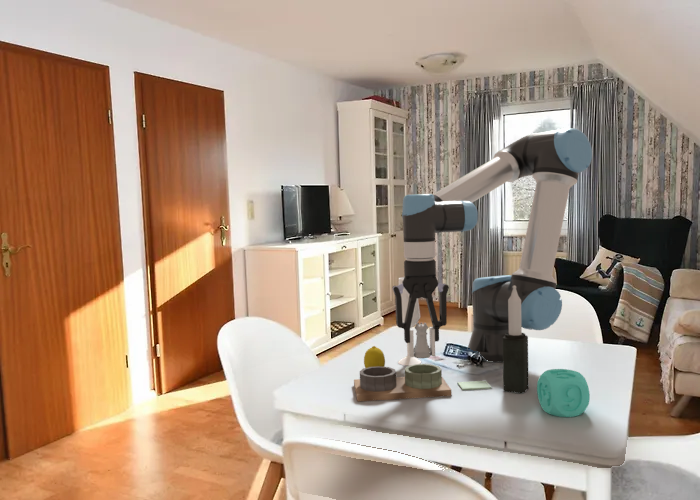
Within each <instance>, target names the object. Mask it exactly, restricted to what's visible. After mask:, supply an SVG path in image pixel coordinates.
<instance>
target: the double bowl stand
mask: <svg viewBox="0 0 700 500" xmlns="http://www.w3.org/2000/svg"><path fill="white" fill-rule="evenodd" d="M442 370H443V369H442V368H441V367H440V365H439V366H438V365H435V364H429V363H421V364H415V365H411V366H408V365H407V366H406V367H405V368H404V376H397V370H396V369H395V368H394V367H393V368H392V367H390V366H384V367H382V366H378V367H368V368H365V367H364V368H363V369H361V370H359V378H358V379H357V378H356V379H353V387H354V391H355V396H356V400H357V401H356V402H371V401H372V402H373V401H390V400H405V399H406V400H407V399H424V398H440V397H452V392H453V391H452V389H451V387H450V386H449V385H448V383H447V382H446V380H445V379H444V377H443V376H442V375H443V374H442Z"/></svg>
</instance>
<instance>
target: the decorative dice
mask: <svg viewBox="0 0 700 500" xmlns="http://www.w3.org/2000/svg"><path fill="white" fill-rule="evenodd" d="M536 393H537V394H536V395H537V399H538V402H539V405H540V406H541V409H542V410H543V411H544V412H546V413H547V415H551V416H554V417H560V418H574V417H579V416H581V415H582V414H583V413H584V412H585V411H586V410H587V408H588V407H589V404H590V389H589V385H588V382H587V380H586V378H585V377H584V375H583V374H582V373H580V372H579V371H577V370H573V369H566V368H552V369H547V370H545V371H544V372H542V373H541V374H540V376H539V377H538V380H537V384H536Z"/></svg>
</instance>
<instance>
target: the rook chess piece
mask: <svg viewBox="0 0 700 500" xmlns="http://www.w3.org/2000/svg"><path fill="white" fill-rule="evenodd" d="M414 329H415V331H416V333H415V336H416V339H415V340H416V341H415V345H414V357H415V358H417V359H428V358H430V357H432V355H431V353H430V352H431V349H430V345H429V344H428V338H427V335H428V332H427V330H428V329H429V327H428V325H427V323H426V322H417V323H416V325H415V326H414Z"/></svg>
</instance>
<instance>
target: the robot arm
mask: <svg viewBox="0 0 700 500" xmlns="http://www.w3.org/2000/svg"><path fill="white" fill-rule="evenodd" d="M592 159H593V150H592V145H591V142H590V140H589V138H588V137H587V135H586V134H585V133H584V132H583V131H582V130H580V129H578V128H574V127H573V128H572V127H571V128H570V127H569V128H566V127H565V128H564V127H563V128H559V129H554V130H549V131H548V130H547V131H543V132H534V133H531V134H528V135H525V136H523V137H521V138H518V139H517V140H516V141H513V142H512V143H510V144H508V145H507V146H505V147H504V148H502V149H501V150H499V151H497V152H496V153H494V155H493V158H492V159H490V160H489V161H487V162H485V163H484V164H482V165H480V166H479V167H476V168H475V169H473V170H471V171H469V172H468V173H467V174H464V175H463V176H461V177H459V178H458V179H456V180H454V181H453V182H451V183H449V184H448V185H446V186H445V187H442V188H441V189H439V190H438V191H436V192H435V193H418V194H406V195H405V196H403V199H402V212H401V215H402V216H401V217H402V229H403V231H402V232H403V233H402V235H403V257H404V259H405V260H404V262H403V264H404V265H403V269H404V271H403V272H404V274H403V275H404V276H403V277H404V280H403V283H402V284H400V285H398V284H397V285H392V288H391V289H392V292H393V293H394V298H395V299H394V301H395V302H394V303H395V322H396V323H395V324H396V326H397V327H398V328H400V329H403V337H404V338H403V339H404V342H405V343H406V344H407V343H409V355H410V357H414V348H415V345H414V344H415V343H414V342H415V341H414V329H413V327H412V328H410V327H411V322H412V317H413V312H414V307H415V303H416V299H417V298H418V299H421V298H423V299H425V301H426V306H427V308H428V312H429V316H430V317H429V318H430V321H431V325H432V326H429V327H428V329H429V348H430V349H431V352H430V353H431V357H436V342H439V341H440V328H441V327H443V326H444V327H446V325H447V323H448V322H447V319H448V318H447V313H448V312H447V310H448V309H447V307H448V306H447V295H448V291H449V289H450V286H449V285H448V284H447V283H442V282H439V279H438V278H437V261H436V259H434V258H436V257H437V256H436V234H439V233H458V232H459V233H463V232H466V231H471V230H474V228H475V227H476V226H477V223H478V216H479V215H478V214H479V213H478V209H477V207H476V205H475V204H474V203H475V201H477V200H479V199H481V198H483V196H486V195H488V194H489V193H490V192H492V191H494V190H495V189H497V188H499V187H500V186H502V185H504V184H506V183H507V182H508V183H514V182H516V181H517V180H519V179H521V178H523V177H529V176H532V178H533V179H534V181H535V183H536V185H535V189H534V195H533V200H532V205H531V210H530V214H529V219H528V224H527V228H526V232H525V233H526V234H525V238H524V243H523V248H522V252H521V258H520V262H519V268H518V269H517V270H516V271H514V272H512V273H511V274H507V275H506V274H505V275H494V276H493V275H492V276H491V275H490V276H485V277H477V278H475V279H473V282H472V289H471V295H472V297H471V298H472V321H473V323H472V325H473V327H472V332H471V337H470V339H469V342H468V345H467V349H468V348H470V349H471V350H473V351H478V352H480V354H481V355H482V356H483V357H484V358H485V359H486V360H488V361H493V362H492V363H503V337H504V336H505V334H506V333H507V332H509V319H508V299H509V298H510V296H511V294H512V290H513V286H514V285H515V286H516V291H517V294H518V296H519V298H520V299H521V328H523V329H525V330H534V331H545V330H547V329H549V328H550V327H551V326H553V325H554V324H555V323H556V321H558V319H559V318H560V315H561V312H562V308H563V299H562V298H561V293H560V292H559V291H558V290H557V289H556V288H557V285H558V284H557V280H556V279H555V278H554V277H553V272H554V266H555V262H556V258H557V253H558V249H559V243H560V237H561V233H562V227H563V222H564V218H565V212H566V208H567V203H568V199H569V193H570V188H572V187H573V186H574V185H577V184H578V179H579V175H580V173H582V172H584V171H586V170H587V169H588V168H589V167H590V165H591V163H592ZM403 288H405V289H406V290H407V292H408V293H409V294H410V295H409V302H408V307H407V312H406V317H405V322H403V321H402V298H401V294H402V293H403ZM436 289H437V291H438V292H439V296H438V297H439V302H438V303H439V310H438V311H439V319H438V316H437V312H436V307H435V303H434V299H433V293H434V291H435V290H436Z"/></svg>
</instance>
